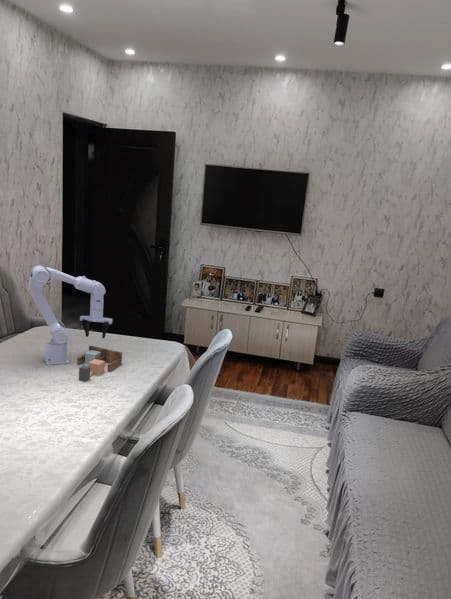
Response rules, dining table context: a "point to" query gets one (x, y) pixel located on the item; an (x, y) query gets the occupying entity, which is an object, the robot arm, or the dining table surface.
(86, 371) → the block
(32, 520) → the dining table surface
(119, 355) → the shelf lanes
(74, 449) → the dining table surface
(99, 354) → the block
